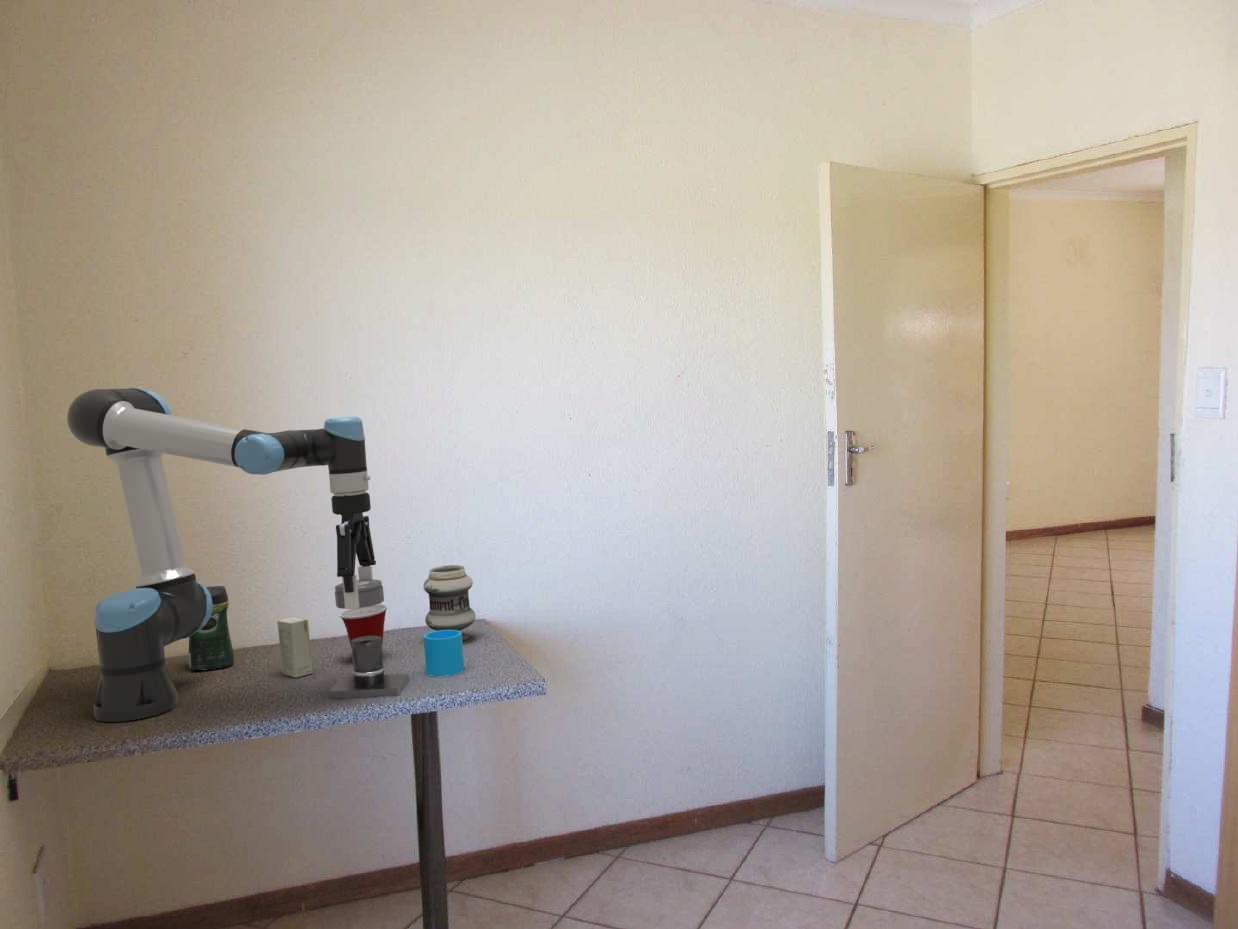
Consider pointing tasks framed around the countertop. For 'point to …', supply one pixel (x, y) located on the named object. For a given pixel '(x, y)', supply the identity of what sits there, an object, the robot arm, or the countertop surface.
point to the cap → (362, 593)
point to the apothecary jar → (449, 599)
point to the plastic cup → (364, 621)
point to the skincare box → (295, 647)
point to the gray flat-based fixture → (368, 673)
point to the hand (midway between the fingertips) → (360, 602)
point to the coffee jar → (213, 636)
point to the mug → (443, 652)
